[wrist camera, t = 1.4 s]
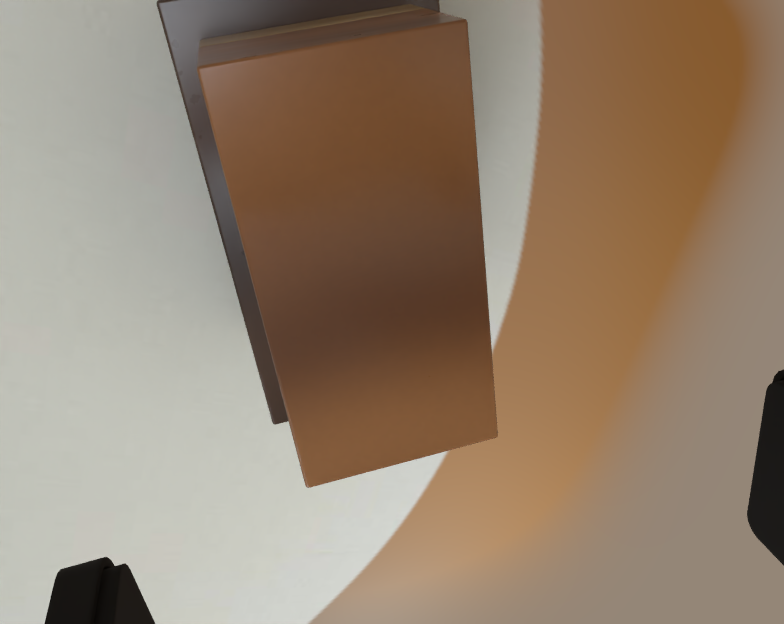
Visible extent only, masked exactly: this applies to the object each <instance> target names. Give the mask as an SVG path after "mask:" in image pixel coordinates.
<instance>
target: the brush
mask: <svg viewBox="0 0 784 624" xmlns="http://www.w3.org/2000/svg"><path fill="white" fill-rule="evenodd" d="M197 73H198V77H199V81H200V85H201V89H202V92H203V96H204V100H205V104H206V108H207V111H208V115H209V119H210V123H211V127H212V131H213V134H214V138H215V142H216V146H217V150H218V153H219V157H220V161H221V165H222V169H223V173H224V176H225V180H226V184H227V188H228V192H229V195H230V199H231V203H232V207H233V211H234V214H235V218H236V222H237V226H238V230H239V234H240V237H241V241H242V245H243V249H244V253H245V256H246V260H247V264H248V268H249V272H250V275H251V279H252V283H253V287H254V291H255V295H256V298H257V302H258V306H259V310H260V314H261V317H262V321H263V325H264V329H265V333H266V337H267V340H268V344H269V348H270V352H271V356H272V359H273V363H274V367H275V371H276V375H277V378H278V382H279V386H280V390H281V394H282V398H283V401H284V405H285V409H286V413H287V417H288V420H289V424H290V428H291V432H292V436H293V440H294V443H295V447H296V451H297V455H298V459H299V462H300V466H301V470H302V474H303V478H304V481H305V485H306V487H307V488H309V487H313V486H317V485H321V484H324V483H328V482H332V481H336V480H339V479H343V478H347V477H351V476H354V475H358V474H362V473H366V472H369V471H373V470H377V469H381V468H384V467H388V466H392V465H396V464H399V463H403V462H407V461H411V460H414V459H418V458H422V457H426V456H430V455H433V454H437V453H441V452H445V451H448V450H452V449H456V448H460V447H463V446H467V445H471V444H474V443H478V442H482V441H485V440H489V439H493V438H496V437H497V436H498V431H497V417H496V404H495V391H494V377H493V363H492V349H491V336H490V322H489V309H488V295H487V282H486V268H485V254H484V241H483V227H482V214H481V200H480V187H479V173H478V159H477V146H476V132H475V119H474V105H473V91H472V78H471V64H470V51H469V37H468V24H467V20H466V19H462V18H459V17H455V16H452V15H448V14H444V13H441V12H437V11H434V10H430V9H426V8H423V7H419V6H415V5H412V4H406V5H400V6H394V7H389V8H383V9H377V10H371V11H365V12H359V13H354V14H348V15H342V16H336V17H330V18H324V19H319V20H313V21H307V22H301V23H295V24H289V25H284V26H278V27H272V28H266V29H260V30H254V31H249V32H243V33H237V34H231V35H225V36H219V37H214V38H208V39H202V40H200V41H199V50H198V61H197Z"/></svg>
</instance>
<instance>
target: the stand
mask: <svg viewBox="0 0 784 624" xmlns="http://www.w3.org/2000/svg"><path fill="white" fill-rule="evenodd" d="M406 4H412V5H415V6H419V7H423V8H426V9H430V10H434V11H437V12H440V8H439V0H158V1H157V7H158V11H159V14H160V18H161V22H162V25H163V29H164V32H165V36H166V40H167V43H168V47H169V50H170V54H171V58H172V61H173V65H174V68H175V72H176V76H177V79H178V83H179V86H180V90H181V94H182V97H183V101H184V105H185V108H186V112H187V115H188V119H189V123H190V126H191V130H192V133H193V137H194V141H195V144H196V148H197V151H198V155H199V159H200V162H201V166H202V169H203V173H204V177H205V180H206V184H207V188H208V191H209V195H210V198H211V202H212V206H213V209H214V213H215V216H216V220H217V224H218V227H219V231H220V234H221V238H222V242H223V245H224V249H225V252H226V256H227V260H228V263H229V267H230V271H231V274H232V278H233V281H234V285H235V289H236V292H237V296H238V299H239V303H240V307H241V310H242V314H243V317H244V321H245V325H246V328H247V332H248V336H249V339H250V343H251V346H252V350H253V354H254V357H255V361H256V364H257V368H258V372H259V375H260V379H261V382H262V386H263V390H264V393H265V397H266V400H267V404H268V408H269V411H270V415H271V419H272V422H273V424H279V423H283V422H287V421H289V420H288V417H287V413H286V409H285V405H284V401H283V398H282V394H281V390H280V386H279V382H278V378H277V375H276V371H275V367H274V363H273V359H272V356H271V352H270V348H269V344H268V340H267V337H266V333H265V329H264V325H263V321H262V317H261V314H260V310H259V306H258V302H257V298H256V295H255V291H254V287H253V283H252V279H251V275H250V272H249V268H248V264H247V260H246V256H245V253H244V249H243V245H242V241H241V237H240V234H239V230H238V226H237V222H236V218H235V214H234V211H233V207H232V203H231V199H230V195H229V192H228V188H227V184H226V180H225V176H224V173H223V169H222V165H221V161H220V157H219V153H218V150H217V146H216V142H215V138H214V134H213V131H212V127H211V123H210V119H209V115H208V111H207V108H206V104H205V100H204V96H203V92H202V89H201V85H200V81H199V77H198V73H197V61H198V50H199V41H200V40H202V39H208V38H214V37H219V36H225V35H231V34H237V33H243V32H249V31H254V30H260V29H266V28H272V27H278V26H284V25H289V24H295V23H301V22H307V21H313V20H319V19H324V18H330V17H336V16H342V15H348V14H354V13H359V12H365V11H371V10H377V9H383V8H389V7H394V6H400V5H406Z"/></svg>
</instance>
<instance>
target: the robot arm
mask: <svg viewBox="0 0 784 624" xmlns="http://www.w3.org/2000/svg"><path fill="white" fill-rule="evenodd" d="M747 516H748V522H749V524H750V527H751V529H752V531H753V532H754V534H755V535H756V537H757V538H758V539H759V540H760V541H761V542H762V543H763V544H764V545H765V546H766V547H767V549H769V550H770V552H771V553H772V554H773V555H774V556H775V557H776V558H777V559H778V560H779V561H780V562H781V563H782V564H783V565H784V370H782V371H778V373H777V374H776V375H775V376H774V379H773V382H772V384H770V385H769V386H768V388H767V391H766V396H765V402H764V409H763V416H762V422H761V428H760V434H759V441H758V447H757V453H756V460H755V466H754V473H753V480H752V485H751V492H750V498H749V505H748V511H747ZM45 624H155V622H154V620H153V618H152V616H151V614H150V611H149V609H148V607H147V605H146V603H145V601H144V598H143V596H142V594H141V592H140V590H139V588H138V585H137V583H136V581H135V579H134V577H133V575H132V573H131V570H130V569H129V567H128V565H126V564H122V565H118V566H114V564H113V563H112V561H111V560H110V559H109V558H108V557H104V558H100V559H97V560H93V561H89V562H86V563H82V564H78V565H75V566H71V567H68V568H64V569H61V570H60V571H59V572H58V573H57V576H56V579H55V582H54V586H53V591H52V595H51V599H50V603H49V608H48V612H47V616H46V620H45Z"/></svg>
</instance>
